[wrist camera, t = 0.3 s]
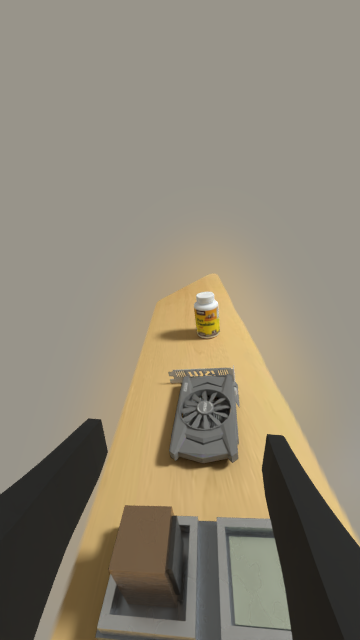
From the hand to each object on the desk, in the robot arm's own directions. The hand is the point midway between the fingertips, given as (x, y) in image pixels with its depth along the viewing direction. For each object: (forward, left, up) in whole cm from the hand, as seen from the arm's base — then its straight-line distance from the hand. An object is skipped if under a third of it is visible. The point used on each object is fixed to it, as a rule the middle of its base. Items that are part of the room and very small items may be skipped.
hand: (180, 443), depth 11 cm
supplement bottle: (+45, 0, -21) cm, 50 cm away
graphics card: (+20, +1, -21) cm, 29 cm away
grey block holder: (+2, 0, -20) cm, 20 cm away
